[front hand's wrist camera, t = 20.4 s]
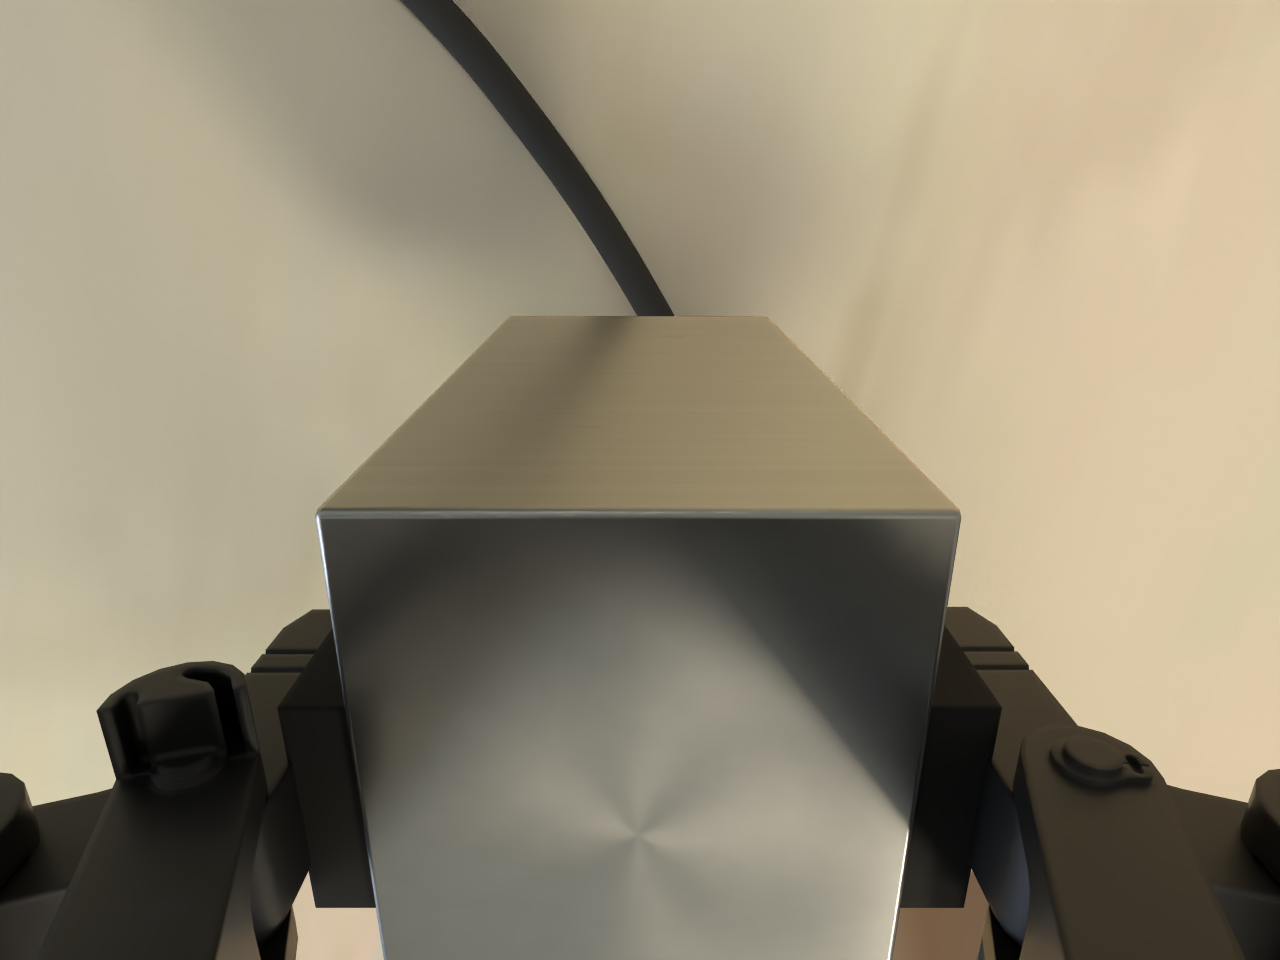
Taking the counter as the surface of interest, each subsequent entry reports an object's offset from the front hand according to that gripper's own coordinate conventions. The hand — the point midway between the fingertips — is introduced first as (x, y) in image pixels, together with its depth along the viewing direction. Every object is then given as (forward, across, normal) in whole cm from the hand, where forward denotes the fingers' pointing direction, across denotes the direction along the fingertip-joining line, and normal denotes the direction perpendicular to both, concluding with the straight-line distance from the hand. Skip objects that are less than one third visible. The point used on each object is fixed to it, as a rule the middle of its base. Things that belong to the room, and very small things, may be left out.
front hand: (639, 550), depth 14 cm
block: (+5, 0, 0) cm, 5 cm away
